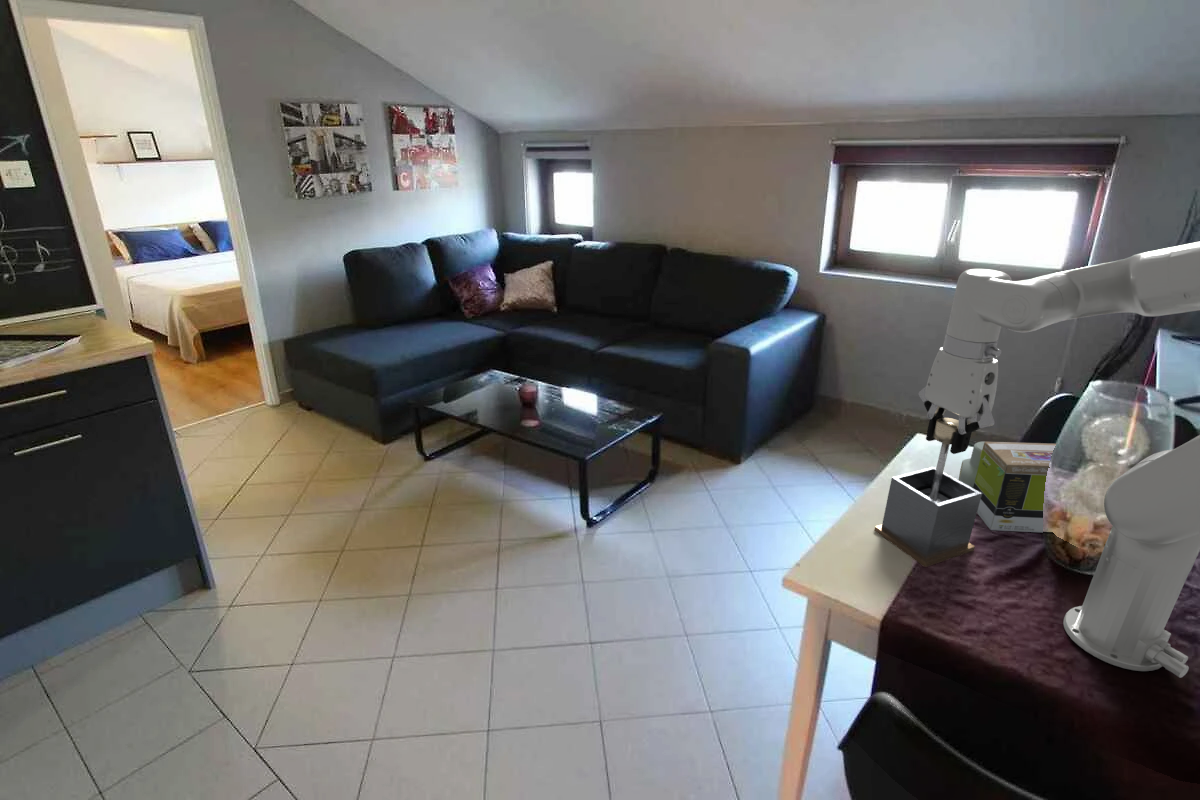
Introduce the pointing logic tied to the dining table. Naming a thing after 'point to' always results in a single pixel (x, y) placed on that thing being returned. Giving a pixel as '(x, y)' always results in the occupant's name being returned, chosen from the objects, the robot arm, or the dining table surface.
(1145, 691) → the dining table surface
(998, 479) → the tea box
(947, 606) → the dining table surface
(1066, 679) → the dining table surface
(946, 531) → the press housing
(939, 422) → the plunger
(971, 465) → the air freshener
